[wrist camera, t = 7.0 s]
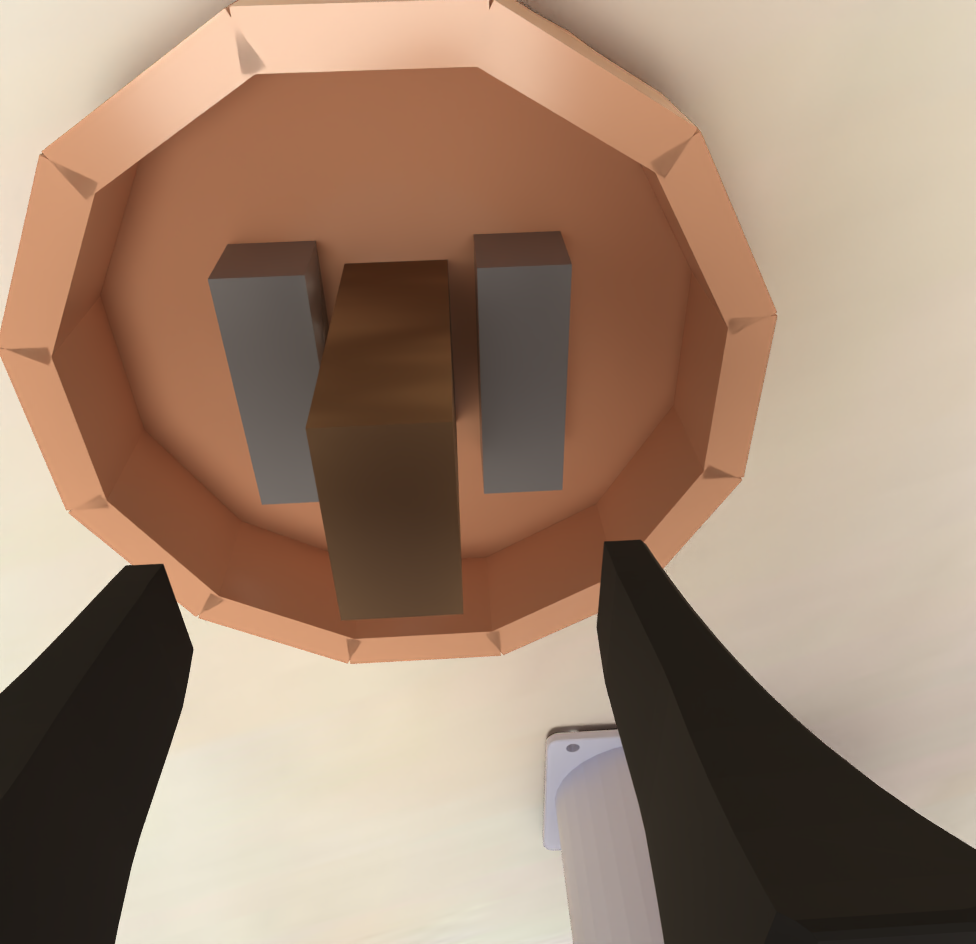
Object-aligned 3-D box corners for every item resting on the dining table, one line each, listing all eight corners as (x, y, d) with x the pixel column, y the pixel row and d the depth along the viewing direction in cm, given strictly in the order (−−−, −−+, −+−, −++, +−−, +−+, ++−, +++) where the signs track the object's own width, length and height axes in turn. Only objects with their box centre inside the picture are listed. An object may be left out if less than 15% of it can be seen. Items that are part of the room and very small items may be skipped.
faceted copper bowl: (766, -34, 17) (846, -13, 13) (675, 549, 26) (708, 644, 23) (-29, -10, 16) (-145, 18, 13) (174, 575, 26) (136, 675, 22)
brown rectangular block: (447, 259, 19) (452, 421, 13) (456, 421, 22) (463, 613, 16) (344, 263, 19) (305, 428, 13) (366, 425, 21) (341, 620, 16)
